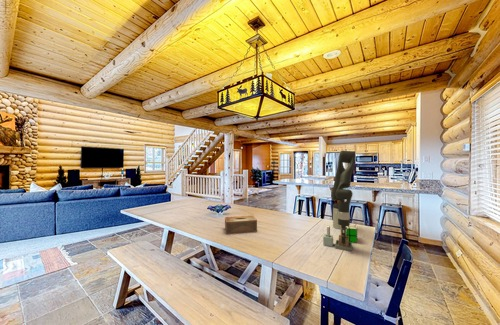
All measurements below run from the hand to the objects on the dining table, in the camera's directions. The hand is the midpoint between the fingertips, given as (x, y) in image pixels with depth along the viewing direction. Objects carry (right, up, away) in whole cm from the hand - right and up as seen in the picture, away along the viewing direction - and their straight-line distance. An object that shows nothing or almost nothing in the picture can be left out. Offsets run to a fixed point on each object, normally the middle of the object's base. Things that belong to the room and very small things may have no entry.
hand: (343, 241), depth 140 cm
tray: (0, -4, 0) cm, 4 cm away
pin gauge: (-9, -3, +4) cm, 10 cm away
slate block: (-9, -4, +4) cm, 11 cm away
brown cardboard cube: (0, -3, 0) cm, 3 cm away
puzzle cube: (+10, -4, +13) cm, 17 cm away
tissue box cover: (-73, -4, +35) cm, 81 cm away
